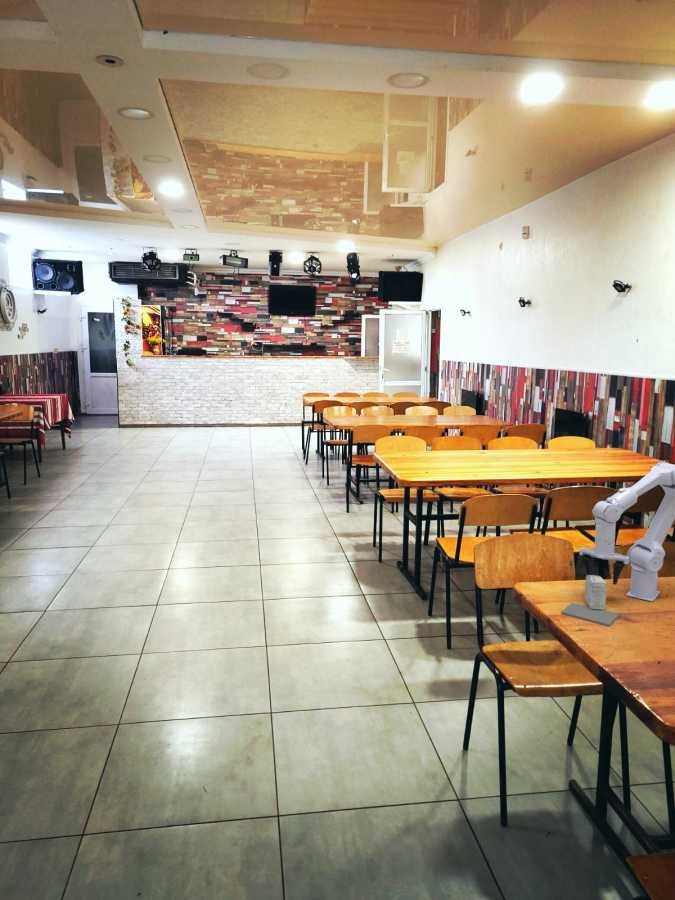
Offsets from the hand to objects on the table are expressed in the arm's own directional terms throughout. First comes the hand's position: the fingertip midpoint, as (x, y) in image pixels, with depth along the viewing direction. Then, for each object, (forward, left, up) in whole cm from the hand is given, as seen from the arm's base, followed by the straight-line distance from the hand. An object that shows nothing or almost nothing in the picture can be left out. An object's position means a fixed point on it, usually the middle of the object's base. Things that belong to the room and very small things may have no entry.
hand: (602, 580), depth 190 cm
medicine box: (+7, 0, -6) cm, 10 cm away
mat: (+14, +1, -6) cm, 15 cm away
